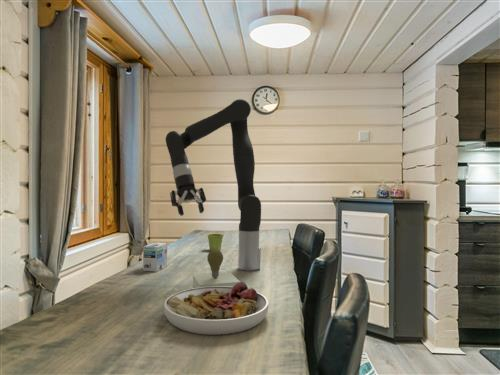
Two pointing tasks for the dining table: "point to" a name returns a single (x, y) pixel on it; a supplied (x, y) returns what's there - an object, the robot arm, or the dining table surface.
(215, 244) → the plant pot
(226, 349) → the dining table surface
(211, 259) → the light bulb
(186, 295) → the bowl
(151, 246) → the light bulb box
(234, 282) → the block
